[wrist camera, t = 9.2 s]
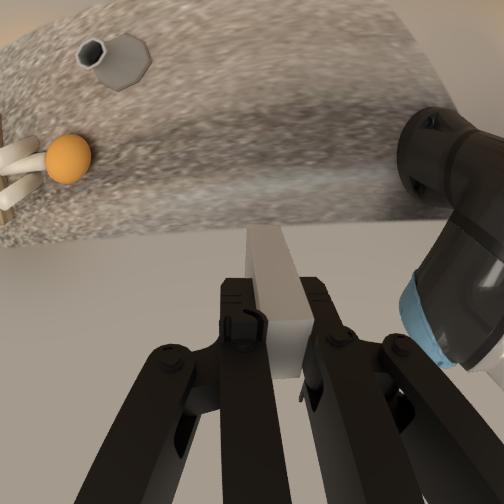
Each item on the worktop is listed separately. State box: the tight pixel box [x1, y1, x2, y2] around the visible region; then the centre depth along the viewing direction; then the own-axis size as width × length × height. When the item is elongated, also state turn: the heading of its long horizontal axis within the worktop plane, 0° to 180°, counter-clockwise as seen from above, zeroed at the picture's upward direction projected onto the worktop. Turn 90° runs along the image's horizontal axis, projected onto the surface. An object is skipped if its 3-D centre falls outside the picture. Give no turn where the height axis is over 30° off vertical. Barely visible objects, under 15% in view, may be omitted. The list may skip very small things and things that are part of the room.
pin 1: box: [0, 136, 39, 169], centre depth 26 cm, size 2×2×8 cm
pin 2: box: [0, 171, 43, 211], centre depth 29 cm, size 2×2×8 cm
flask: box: [74, 33, 152, 92], centre depth 23 cm, size 7×7×10 cm
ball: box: [45, 134, 91, 184], centre depth 29 cm, size 6×6×6 cm
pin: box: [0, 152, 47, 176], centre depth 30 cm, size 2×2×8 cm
